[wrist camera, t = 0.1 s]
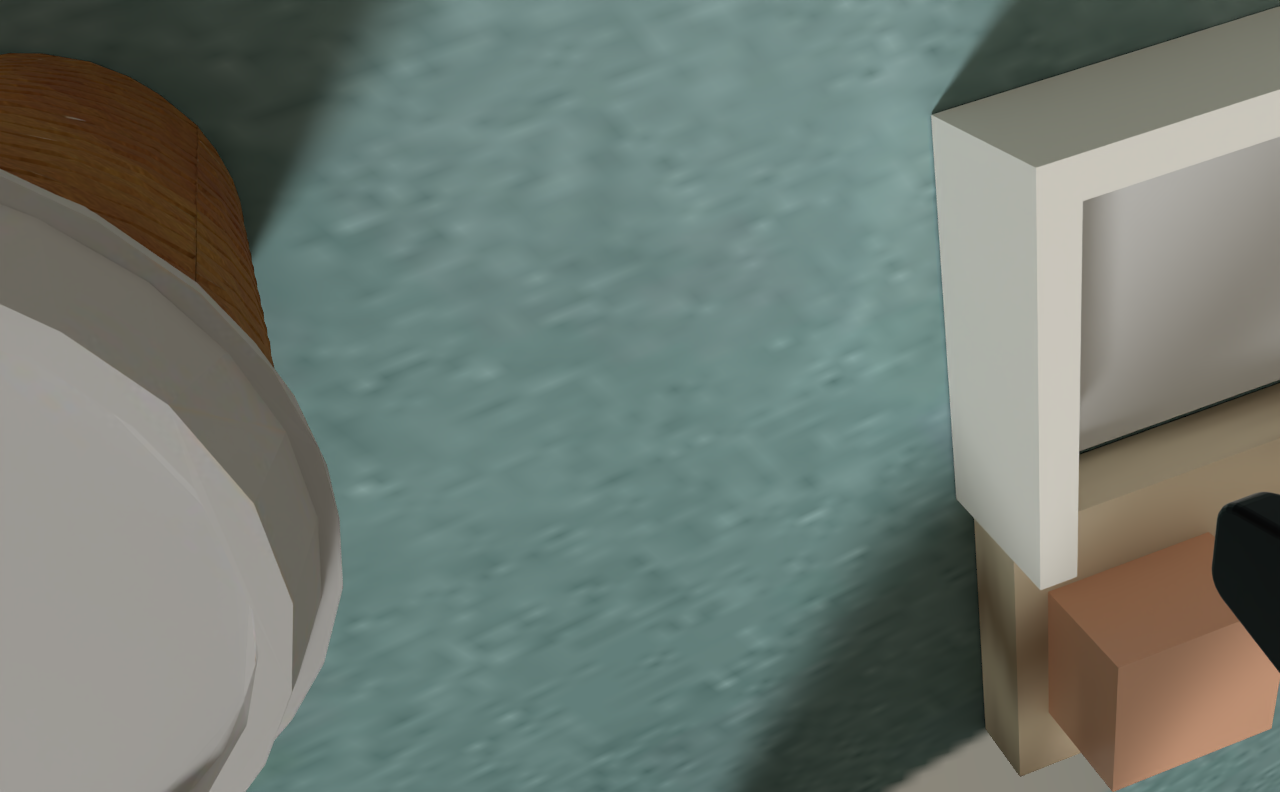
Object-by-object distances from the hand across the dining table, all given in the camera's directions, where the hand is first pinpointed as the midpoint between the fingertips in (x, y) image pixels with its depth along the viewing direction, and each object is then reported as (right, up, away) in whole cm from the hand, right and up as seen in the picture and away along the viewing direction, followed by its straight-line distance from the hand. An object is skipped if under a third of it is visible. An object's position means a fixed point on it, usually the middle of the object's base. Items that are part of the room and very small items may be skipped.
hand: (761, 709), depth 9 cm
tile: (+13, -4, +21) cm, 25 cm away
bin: (+14, +7, +18) cm, 24 cm away
